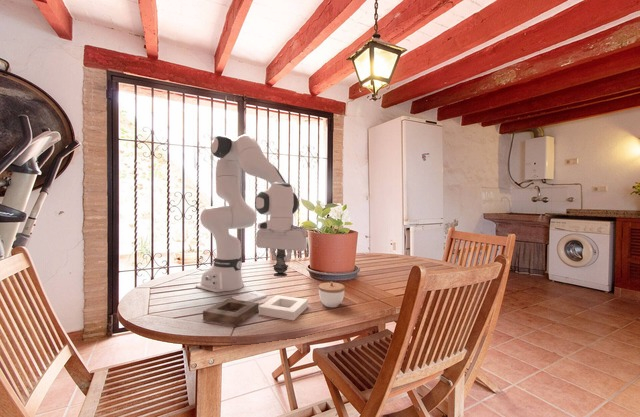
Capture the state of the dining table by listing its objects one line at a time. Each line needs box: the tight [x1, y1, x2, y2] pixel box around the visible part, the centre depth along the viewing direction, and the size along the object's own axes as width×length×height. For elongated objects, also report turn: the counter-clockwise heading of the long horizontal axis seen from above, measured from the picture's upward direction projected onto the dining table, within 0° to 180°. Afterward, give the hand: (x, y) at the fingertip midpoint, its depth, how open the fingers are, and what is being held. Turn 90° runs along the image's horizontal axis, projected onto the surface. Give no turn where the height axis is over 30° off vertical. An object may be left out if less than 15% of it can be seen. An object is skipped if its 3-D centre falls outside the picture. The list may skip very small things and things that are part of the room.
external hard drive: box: [230, 290, 267, 302], centre depth 125 cm, size 2×8×12 cm
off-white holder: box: [258, 294, 309, 321], centre depth 112 cm, size 14×14×3 cm
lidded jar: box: [318, 281, 346, 308], centre depth 119 cm, size 11×11×9 cm
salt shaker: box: [272, 249, 289, 278], centre depth 110 cm, size 6×6×12 cm
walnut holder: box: [202, 298, 260, 327], centre depth 106 cm, size 14×14×3 cm
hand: (281, 260), depth 110 cm, fingers closed on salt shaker, 3 cm apart
